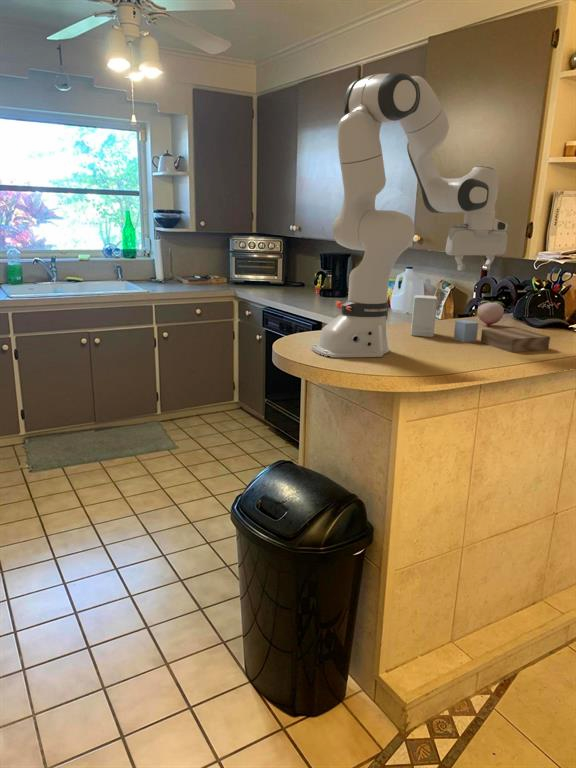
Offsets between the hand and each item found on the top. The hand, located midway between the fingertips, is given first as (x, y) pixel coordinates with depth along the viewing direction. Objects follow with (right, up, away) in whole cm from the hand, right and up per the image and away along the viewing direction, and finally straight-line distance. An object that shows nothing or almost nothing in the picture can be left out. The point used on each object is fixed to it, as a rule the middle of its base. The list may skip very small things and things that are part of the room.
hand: (473, 270), depth 179 cm
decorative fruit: (+16, -14, +32) cm, 38 cm away
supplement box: (-13, -19, +13) cm, 27 cm away
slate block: (-1, -21, +6) cm, 22 cm away
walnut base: (+12, -24, 0) cm, 27 cm away
